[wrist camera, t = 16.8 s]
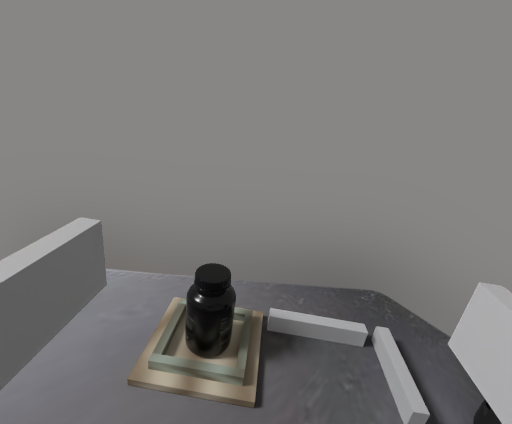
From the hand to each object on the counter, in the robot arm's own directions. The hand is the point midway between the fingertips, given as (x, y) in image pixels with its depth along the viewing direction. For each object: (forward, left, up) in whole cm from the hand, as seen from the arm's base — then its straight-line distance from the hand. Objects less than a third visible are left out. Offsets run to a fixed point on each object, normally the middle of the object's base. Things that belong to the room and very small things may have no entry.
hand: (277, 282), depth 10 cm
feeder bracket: (-13, -23, -29) cm, 39 cm away
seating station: (+6, -23, -29) cm, 37 cm away
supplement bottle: (+6, -23, -28) cm, 37 cm away
